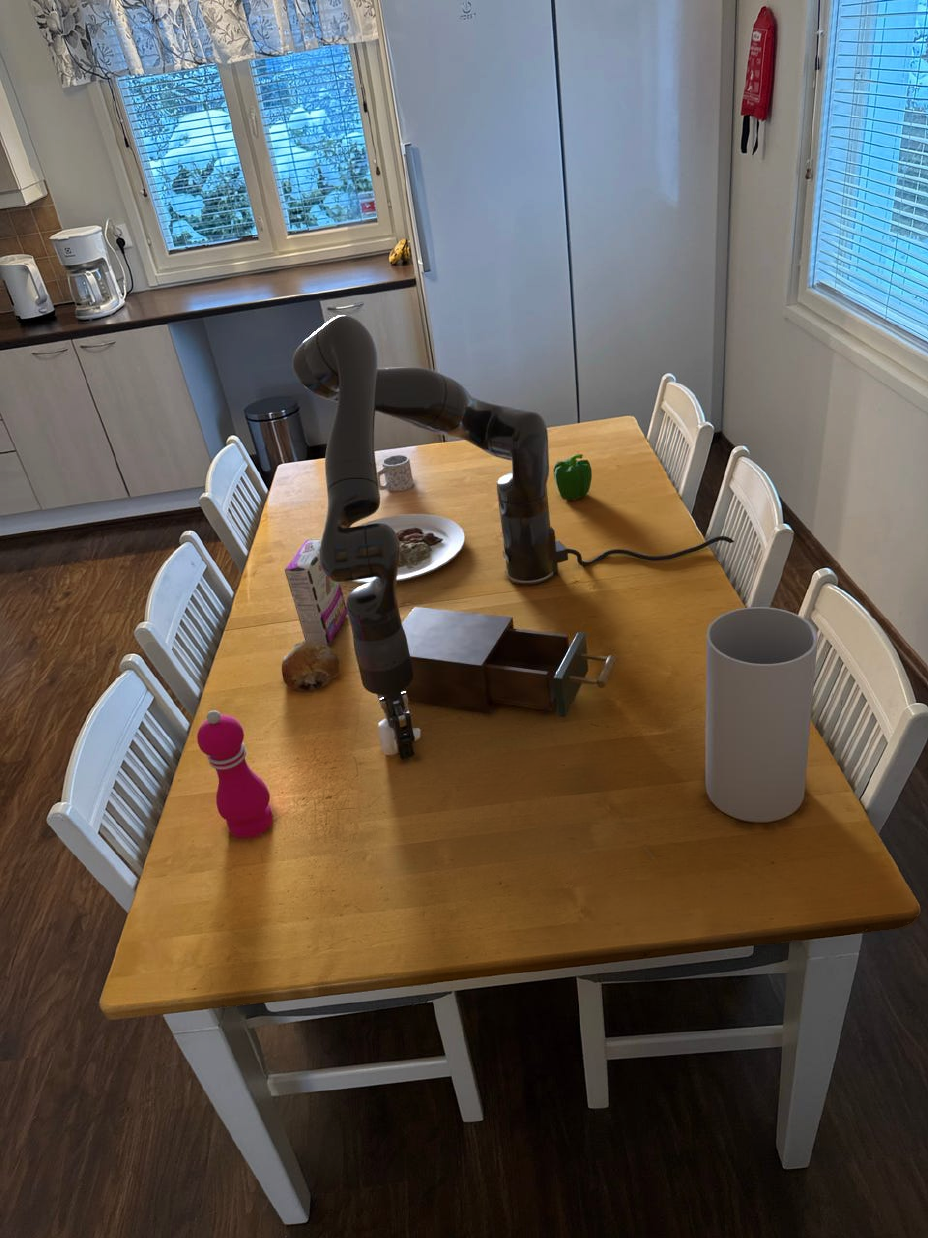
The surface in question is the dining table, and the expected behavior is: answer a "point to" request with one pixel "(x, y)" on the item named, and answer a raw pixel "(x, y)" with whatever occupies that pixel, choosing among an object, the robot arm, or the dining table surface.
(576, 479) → the bell pepper
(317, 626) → the candy bar box
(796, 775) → the cylinder vase
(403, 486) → the mug
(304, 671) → the bread roll
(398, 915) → the dining table surface
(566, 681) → the drawer
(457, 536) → the plated food
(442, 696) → the cabinet
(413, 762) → the dining table surface
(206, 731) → the pepper mill
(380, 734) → the garlic bulb
